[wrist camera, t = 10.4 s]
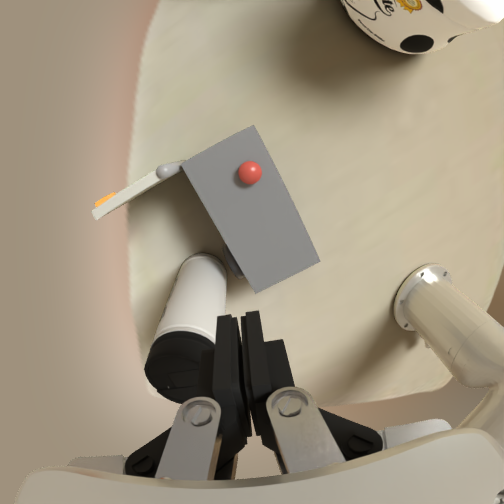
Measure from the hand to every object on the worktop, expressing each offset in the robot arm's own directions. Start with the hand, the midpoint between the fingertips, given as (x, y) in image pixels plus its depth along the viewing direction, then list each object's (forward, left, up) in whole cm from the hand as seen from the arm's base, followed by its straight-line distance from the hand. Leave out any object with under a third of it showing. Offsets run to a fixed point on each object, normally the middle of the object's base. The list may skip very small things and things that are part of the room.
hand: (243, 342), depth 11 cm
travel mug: (-6, +8, -25) cm, 27 cm away
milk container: (+18, -33, -25) cm, 45 cm away
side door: (+8, +7, -25) cm, 27 cm away
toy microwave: (0, -2, -25) cm, 25 cm away
